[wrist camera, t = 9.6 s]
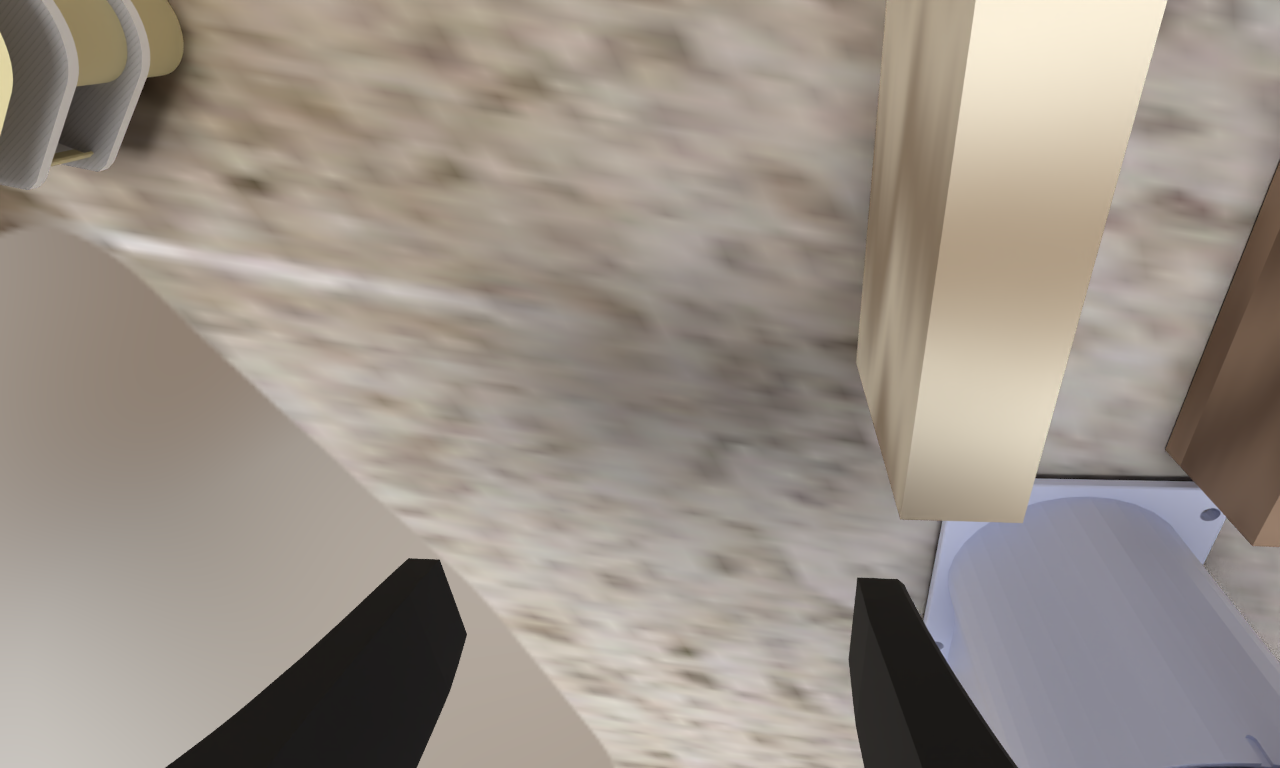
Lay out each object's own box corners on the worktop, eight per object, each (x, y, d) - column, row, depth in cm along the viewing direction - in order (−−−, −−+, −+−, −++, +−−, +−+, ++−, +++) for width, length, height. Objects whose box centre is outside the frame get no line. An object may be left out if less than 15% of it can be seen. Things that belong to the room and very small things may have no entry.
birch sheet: (938, 360, 19) (1022, 523, 13) (855, 361, 19) (900, 519, 14) (1020, -153, 13) (1244, -279, 7) (897, -134, 13) (1010, -239, 8)
